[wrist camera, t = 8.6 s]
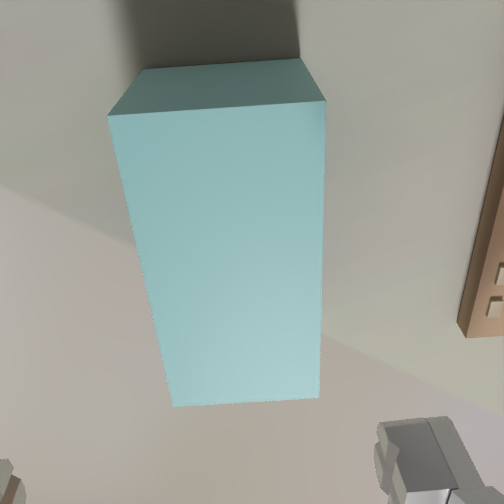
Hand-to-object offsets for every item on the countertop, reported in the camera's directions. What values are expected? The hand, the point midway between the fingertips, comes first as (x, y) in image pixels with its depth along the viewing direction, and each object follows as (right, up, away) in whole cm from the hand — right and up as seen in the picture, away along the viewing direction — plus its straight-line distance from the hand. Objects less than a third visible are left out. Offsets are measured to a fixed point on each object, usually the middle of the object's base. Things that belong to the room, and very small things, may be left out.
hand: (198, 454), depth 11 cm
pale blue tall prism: (0, +7, +11) cm, 13 cm away
